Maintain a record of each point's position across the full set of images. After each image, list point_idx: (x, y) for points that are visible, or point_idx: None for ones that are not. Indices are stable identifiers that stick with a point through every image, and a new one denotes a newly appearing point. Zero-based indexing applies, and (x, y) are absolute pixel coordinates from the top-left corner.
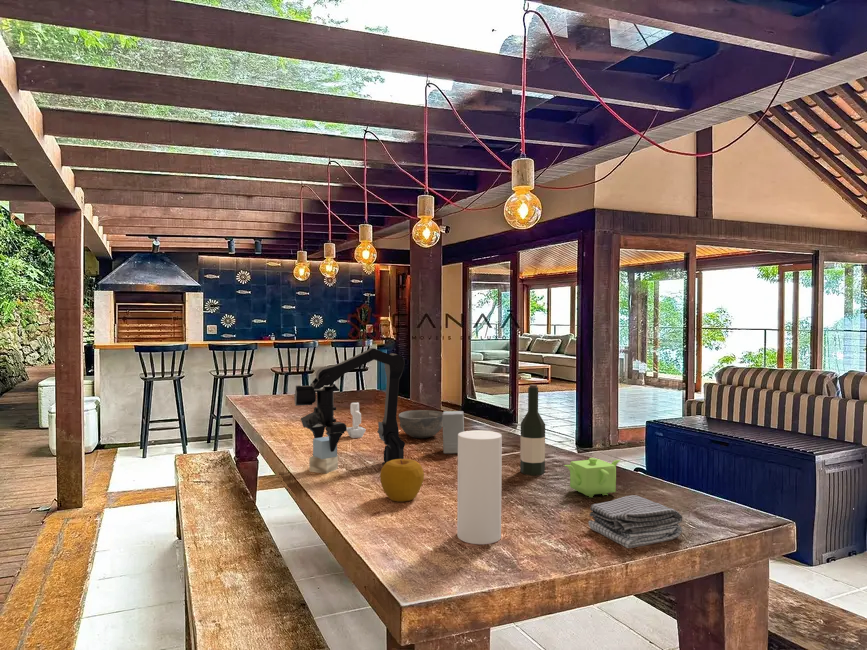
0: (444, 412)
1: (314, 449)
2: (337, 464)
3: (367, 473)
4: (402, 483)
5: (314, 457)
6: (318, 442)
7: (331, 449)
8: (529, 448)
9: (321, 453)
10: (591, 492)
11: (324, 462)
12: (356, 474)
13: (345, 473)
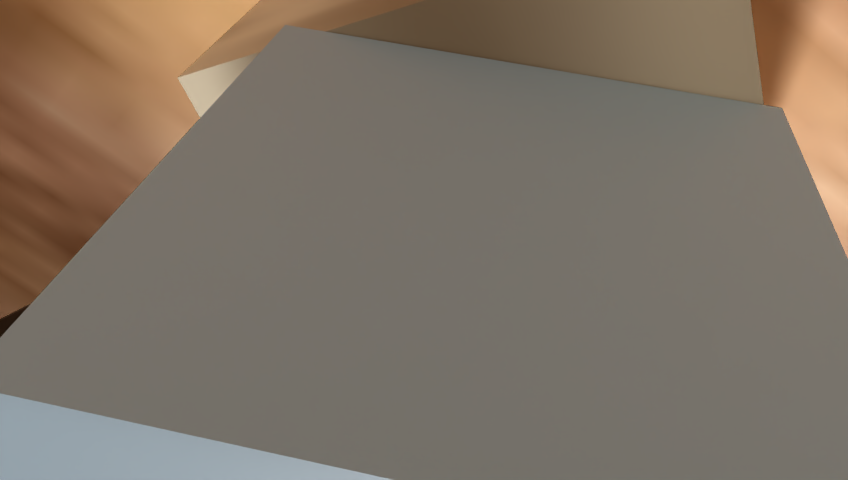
0: None
1: (719, 204)
2: None
3: (4, 310)
4: None
5: (604, 18)
6: (354, 374)
7: (12, 319)
8: None
9: (244, 92)
10: None
11: (263, 31)
12: (19, 217)
13: (136, 167)
